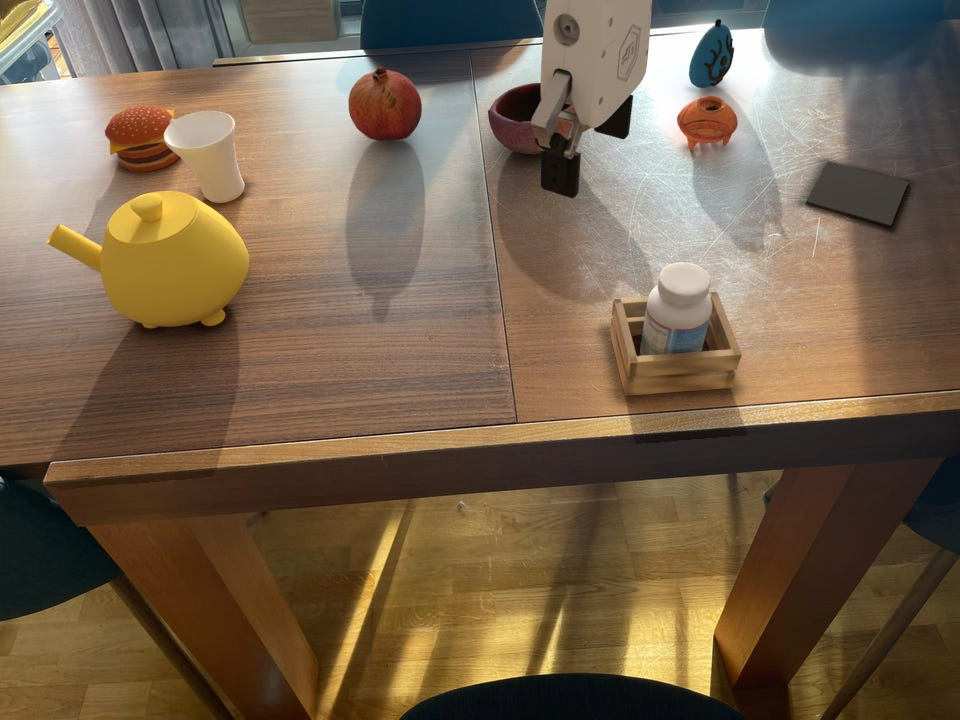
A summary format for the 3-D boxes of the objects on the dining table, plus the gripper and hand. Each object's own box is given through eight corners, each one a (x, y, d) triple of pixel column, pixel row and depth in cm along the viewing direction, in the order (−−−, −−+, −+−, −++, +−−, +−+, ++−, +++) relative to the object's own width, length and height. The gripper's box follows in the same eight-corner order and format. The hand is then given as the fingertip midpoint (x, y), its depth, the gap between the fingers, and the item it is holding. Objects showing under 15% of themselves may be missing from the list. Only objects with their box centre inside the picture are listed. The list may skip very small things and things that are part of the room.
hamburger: (118, 145, 108) (98, 104, 104) (184, 132, 110) (168, 90, 105) (118, 180, 102) (97, 137, 97) (188, 165, 104) (171, 122, 99)
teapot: (63, 351, 81) (-4, 255, 71) (109, 258, 91) (56, 162, 81) (243, 344, 80) (202, 246, 70) (269, 251, 91) (236, 154, 80)
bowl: (504, 178, 98) (503, 124, 92) (480, 129, 107) (478, 76, 101) (617, 156, 100) (623, 102, 95) (585, 110, 109) (589, 58, 103)
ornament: (702, 101, 109) (715, 34, 102) (677, 90, 111) (688, 24, 104) (736, 80, 112) (751, 14, 105) (710, 70, 115) (723, 5, 107)
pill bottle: (700, 342, 77) (721, 261, 69) (695, 386, 73) (717, 305, 65) (642, 333, 78) (656, 252, 70) (634, 375, 75) (648, 295, 66)
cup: (220, 166, 103) (196, 101, 96) (269, 184, 100) (249, 118, 92) (173, 200, 99) (144, 134, 91) (223, 220, 95) (198, 153, 88)
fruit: (435, 144, 105) (428, 77, 97) (370, 164, 102) (357, 97, 95) (408, 110, 111) (399, 45, 104) (345, 128, 109) (332, 62, 101)
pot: (737, 126, 103) (747, 88, 97) (725, 167, 100) (735, 131, 94) (680, 116, 105) (687, 78, 99) (667, 156, 102) (673, 119, 96)
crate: (707, 325, 79) (717, 290, 75) (731, 388, 73) (742, 354, 69) (609, 332, 79) (613, 298, 75) (624, 396, 73) (630, 362, 69)
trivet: (907, 183, 94) (908, 181, 93) (890, 227, 88) (891, 225, 88) (826, 162, 97) (827, 160, 97) (805, 203, 92) (805, 201, 92)
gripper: (595, 4, 44) (579, 231, 57) (700, -89, 53) (666, 124, 66) (487, -18, 47) (496, 203, 59) (606, -102, 56) (591, 104, 69)
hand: (586, 161), depth 63 cm, fingers open, 9 cm apart
